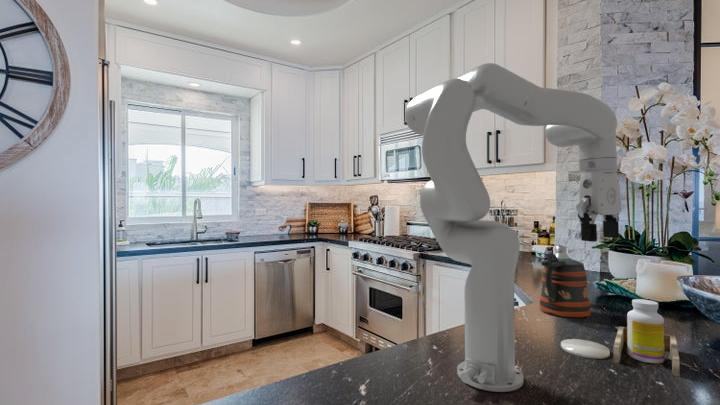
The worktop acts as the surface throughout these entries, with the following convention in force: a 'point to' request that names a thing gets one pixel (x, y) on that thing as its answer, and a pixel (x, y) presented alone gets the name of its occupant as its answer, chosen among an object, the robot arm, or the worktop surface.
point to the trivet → (585, 348)
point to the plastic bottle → (561, 251)
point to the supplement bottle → (645, 332)
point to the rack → (668, 345)
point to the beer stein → (564, 288)
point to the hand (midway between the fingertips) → (600, 239)
